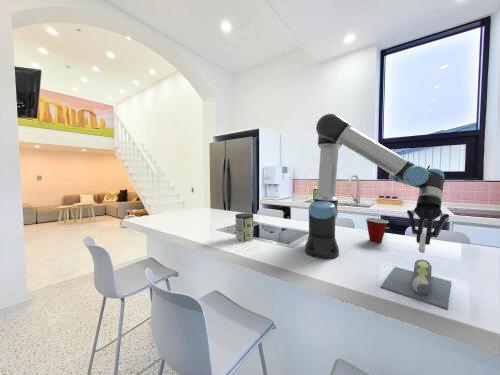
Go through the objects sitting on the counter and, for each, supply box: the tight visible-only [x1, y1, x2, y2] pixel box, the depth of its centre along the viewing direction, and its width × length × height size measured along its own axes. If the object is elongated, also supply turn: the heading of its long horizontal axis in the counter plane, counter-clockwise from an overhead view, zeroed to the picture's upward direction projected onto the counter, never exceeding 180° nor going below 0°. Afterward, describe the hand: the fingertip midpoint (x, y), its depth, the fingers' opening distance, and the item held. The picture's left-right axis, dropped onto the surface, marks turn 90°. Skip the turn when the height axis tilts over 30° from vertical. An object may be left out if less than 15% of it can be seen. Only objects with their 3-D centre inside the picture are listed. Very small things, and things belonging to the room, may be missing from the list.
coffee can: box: [234, 212, 254, 242], centre depth 121 cm, size 10×10×14 cm
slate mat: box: [380, 266, 452, 310], centre depth 70 cm, size 20×16×1 cm
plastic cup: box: [365, 217, 389, 243], centre depth 115 cm, size 11×11×12 cm
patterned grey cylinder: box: [412, 258, 432, 294], centre depth 71 cm, size 5×5×20 cm
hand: (421, 250), depth 76 cm, fingers closed
